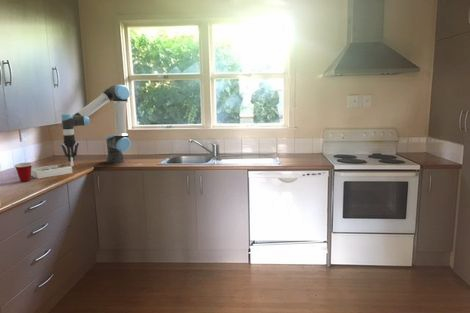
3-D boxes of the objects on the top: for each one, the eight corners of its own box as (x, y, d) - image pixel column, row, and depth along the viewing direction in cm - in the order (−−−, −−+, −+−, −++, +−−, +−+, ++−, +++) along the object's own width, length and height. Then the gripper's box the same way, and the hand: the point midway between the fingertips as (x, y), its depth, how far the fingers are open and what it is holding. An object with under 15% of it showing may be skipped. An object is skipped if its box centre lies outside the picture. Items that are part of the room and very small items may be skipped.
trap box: (64, 170, 280) (63, 163, 279) (72, 172, 269) (71, 166, 268) (30, 175, 264) (29, 168, 263) (37, 178, 252) (36, 171, 251)
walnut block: (65, 167, 273) (65, 162, 272) (68, 168, 269) (67, 163, 268) (58, 169, 269) (57, 163, 268) (60, 170, 265) (60, 164, 264)
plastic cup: (14, 183, 239) (11, 166, 237) (18, 180, 249) (16, 163, 247) (32, 182, 242) (30, 164, 240) (36, 178, 252) (34, 161, 250)
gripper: (75, 133, 276) (78, 163, 280) (57, 135, 267) (61, 166, 271) (79, 134, 271) (82, 164, 275) (61, 135, 262) (64, 167, 266)
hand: (71, 165), depth 273 cm, fingers closed
